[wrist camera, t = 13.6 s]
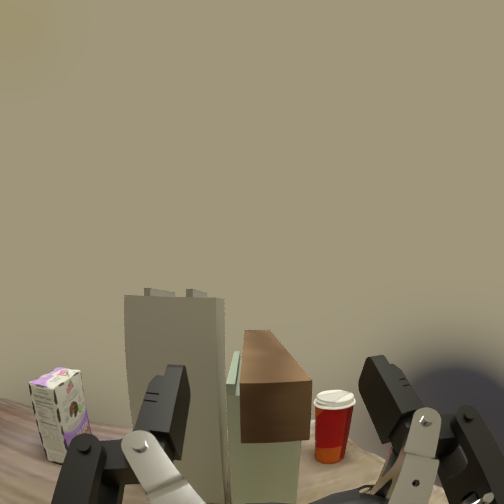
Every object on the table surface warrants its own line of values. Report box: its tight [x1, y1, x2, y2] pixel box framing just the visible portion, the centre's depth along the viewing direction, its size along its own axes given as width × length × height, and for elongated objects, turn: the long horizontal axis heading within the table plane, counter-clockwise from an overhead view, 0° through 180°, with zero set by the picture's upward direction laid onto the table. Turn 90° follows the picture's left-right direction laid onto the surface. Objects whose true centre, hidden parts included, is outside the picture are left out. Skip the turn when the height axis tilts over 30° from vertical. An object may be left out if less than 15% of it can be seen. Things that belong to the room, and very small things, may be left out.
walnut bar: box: [239, 330, 312, 443], centre depth 24 cm, size 4×26×4 cm, turn 1°
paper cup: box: [314, 390, 356, 464], centre depth 41 cm, size 8×8×14 cm
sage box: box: [226, 351, 301, 504], centre depth 25 cm, size 6×15×25 cm, turn 1°
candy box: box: [29, 367, 91, 465], centre depth 34 cm, size 14×6×16 cm, turn 13°
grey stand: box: [124, 288, 229, 504], centre depth 35 cm, size 12×12×33 cm
